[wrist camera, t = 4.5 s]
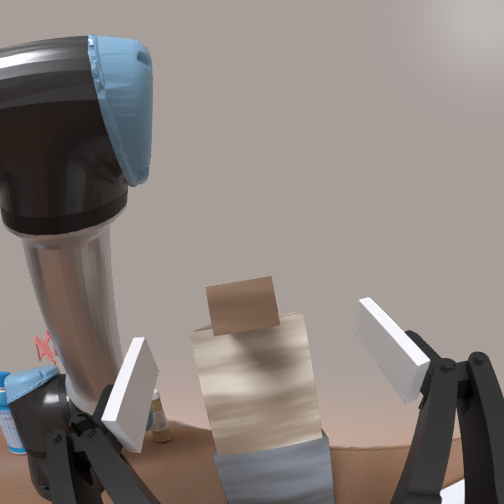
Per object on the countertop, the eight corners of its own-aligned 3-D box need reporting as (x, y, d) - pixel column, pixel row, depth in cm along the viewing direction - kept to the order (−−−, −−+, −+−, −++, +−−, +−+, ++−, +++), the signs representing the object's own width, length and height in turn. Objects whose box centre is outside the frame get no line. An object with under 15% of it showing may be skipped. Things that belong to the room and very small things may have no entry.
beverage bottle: (9, 456, 26) (-18, 375, 30) (9, 444, 31) (-13, 371, 35) (38, 454, 32) (12, 375, 36) (35, 442, 38) (14, 370, 42)
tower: (335, 516, 20) (308, 311, 25) (239, 534, 19) (184, 333, 25) (307, 455, 38) (282, 311, 44) (241, 467, 38) (209, 324, 43)
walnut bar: (280, 324, 16) (271, 276, 17) (214, 336, 16) (205, 287, 16) (258, 316, 43) (255, 298, 44) (234, 320, 43) (230, 302, 44)
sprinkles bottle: (167, 434, 55) (154, 387, 58) (174, 439, 52) (161, 390, 55) (151, 438, 52) (137, 391, 55) (157, 444, 49) (143, 394, 52)
